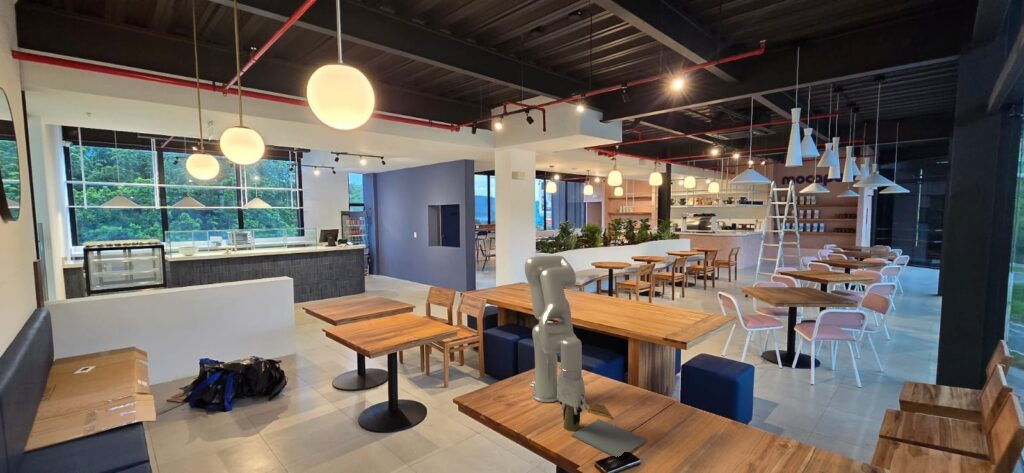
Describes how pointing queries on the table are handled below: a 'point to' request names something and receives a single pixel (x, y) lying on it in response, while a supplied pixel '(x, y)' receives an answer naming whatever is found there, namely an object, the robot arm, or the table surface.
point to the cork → (570, 419)
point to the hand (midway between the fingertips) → (571, 420)
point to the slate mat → (609, 438)
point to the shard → (599, 410)
